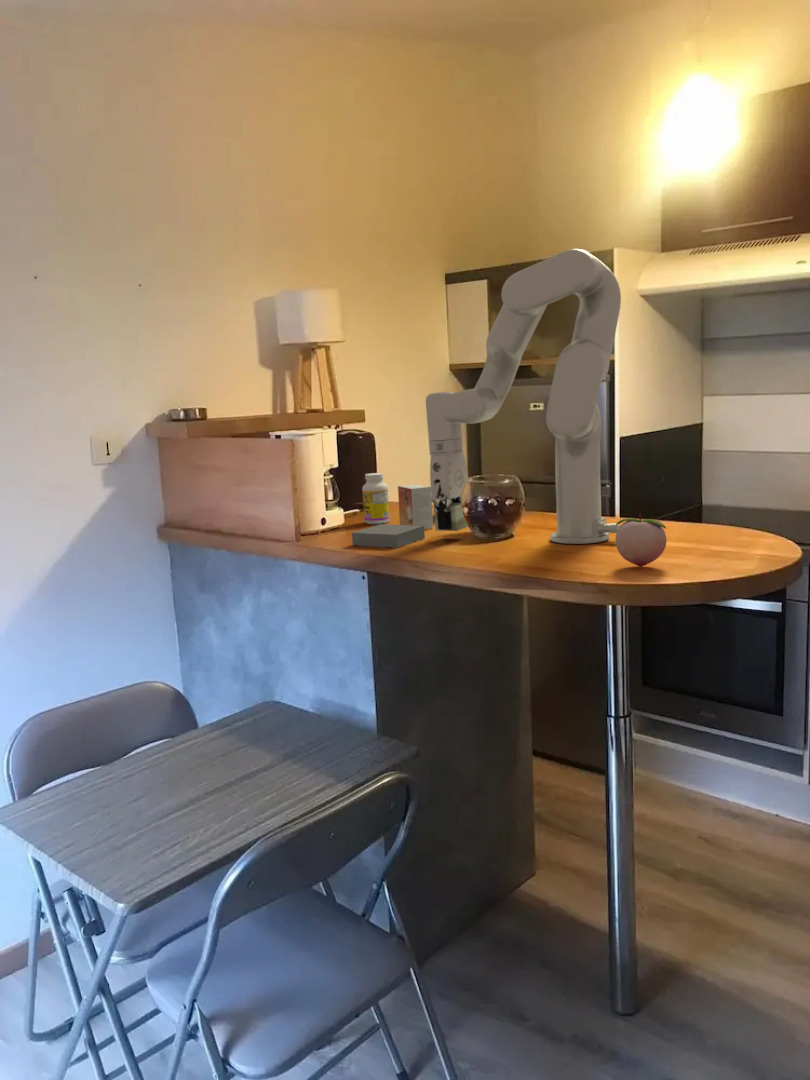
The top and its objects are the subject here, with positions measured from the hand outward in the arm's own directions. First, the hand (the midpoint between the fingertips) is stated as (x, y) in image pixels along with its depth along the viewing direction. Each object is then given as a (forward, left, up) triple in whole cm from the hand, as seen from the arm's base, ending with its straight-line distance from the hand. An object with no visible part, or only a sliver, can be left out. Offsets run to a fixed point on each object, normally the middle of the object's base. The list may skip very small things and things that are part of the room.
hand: (451, 526), depth 209 cm
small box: (+17, -12, -3) cm, 21 cm away
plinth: (+13, +7, -3) cm, 15 cm away
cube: (0, 0, -1) cm, 1 cm away
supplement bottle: (+32, -17, -3) cm, 36 cm away
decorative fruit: (-49, +18, -3) cm, 53 cm away
